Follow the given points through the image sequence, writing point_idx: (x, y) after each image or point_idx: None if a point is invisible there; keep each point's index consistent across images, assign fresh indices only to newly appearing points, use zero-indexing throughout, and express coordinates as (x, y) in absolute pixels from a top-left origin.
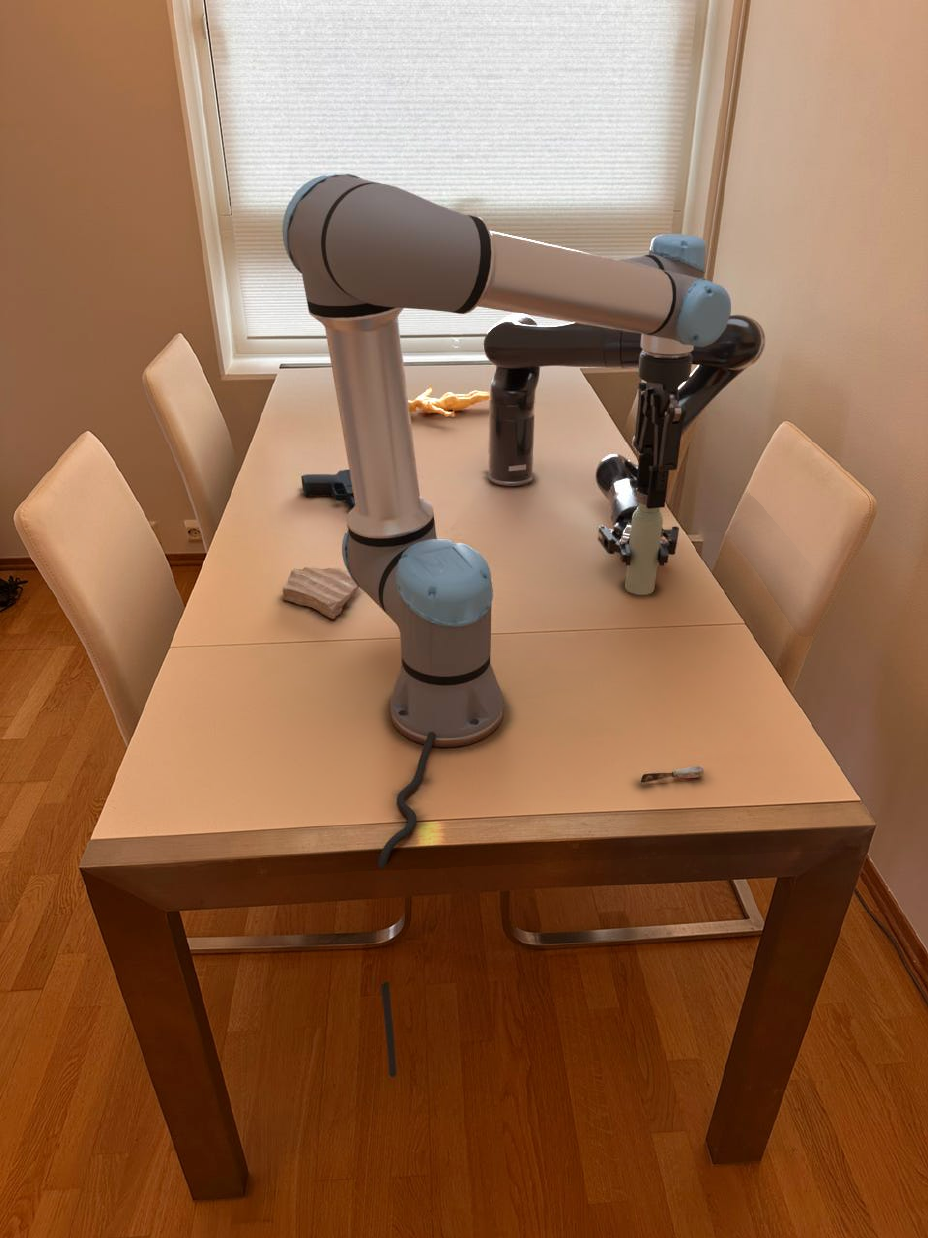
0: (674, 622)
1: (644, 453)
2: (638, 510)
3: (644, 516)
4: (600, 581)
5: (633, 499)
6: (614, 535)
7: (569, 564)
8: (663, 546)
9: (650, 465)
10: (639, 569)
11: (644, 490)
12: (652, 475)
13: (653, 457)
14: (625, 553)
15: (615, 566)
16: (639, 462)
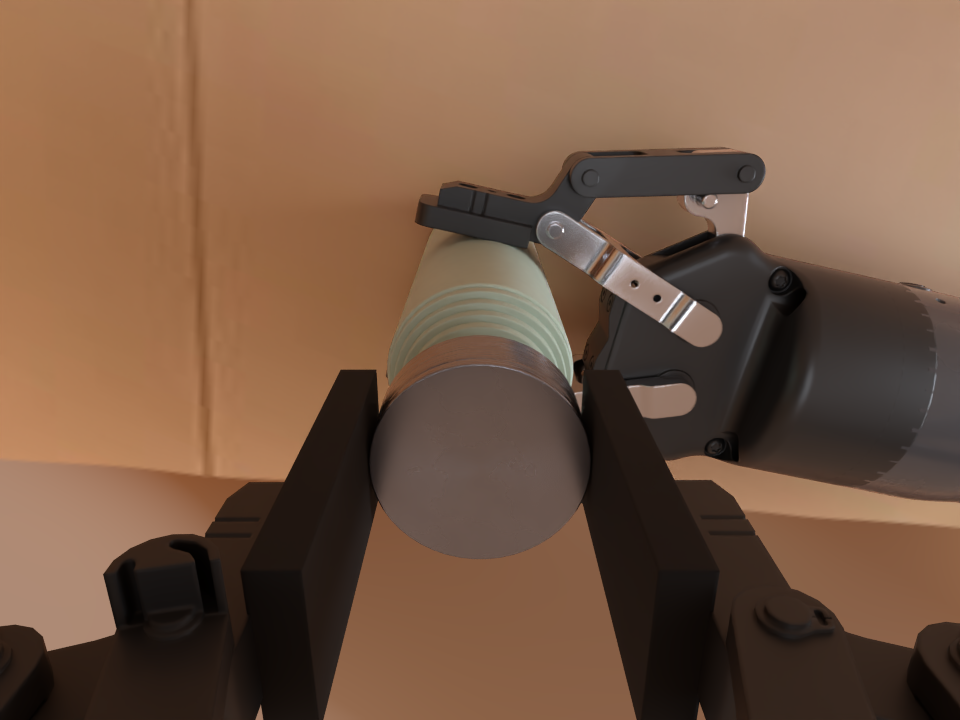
0: (227, 297)
1: (710, 636)
2: (469, 327)
3: (413, 343)
4: (563, 120)
5: (887, 410)
6: (708, 232)
7: (742, 24)
8: None
9: (620, 596)
10: (423, 255)
11: (480, 419)
12: (264, 529)
13: (639, 682)
14: (451, 204)
15: (666, 223)
16: (664, 519)
